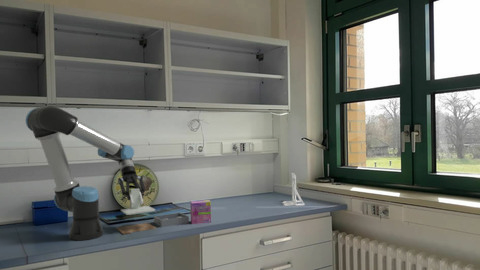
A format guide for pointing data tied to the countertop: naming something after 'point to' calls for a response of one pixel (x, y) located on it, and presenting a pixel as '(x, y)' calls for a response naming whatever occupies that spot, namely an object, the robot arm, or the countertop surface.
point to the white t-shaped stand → (136, 204)
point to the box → (200, 212)
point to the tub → (171, 219)
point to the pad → (135, 228)
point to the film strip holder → (293, 194)
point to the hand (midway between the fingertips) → (137, 203)
